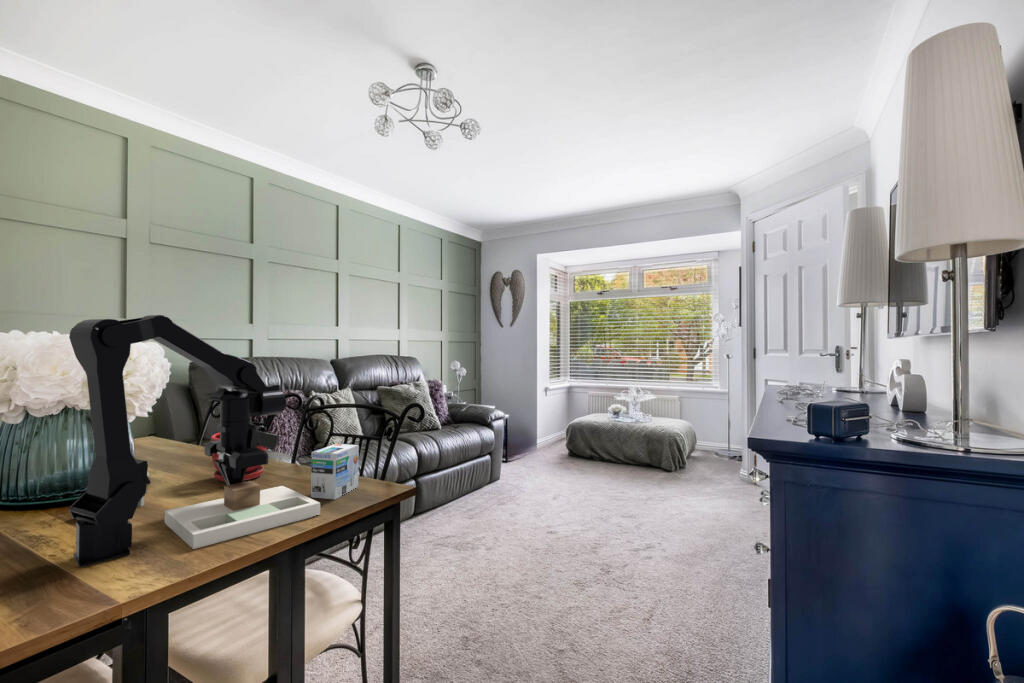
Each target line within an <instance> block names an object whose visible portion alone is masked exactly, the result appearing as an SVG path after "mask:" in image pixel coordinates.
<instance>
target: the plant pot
mask: <svg viewBox="0 0 1024 683" xmlns="http://www.w3.org/2000/svg"><path fill="white" fill-rule="evenodd" d="M218 440H220V432H217V433H215V434H213V435H211V437H210V441H218ZM257 448H258V449H261V450H264V451H265V452H266V453H267V449H268V448H267V447H262V446H257ZM211 460H212V463H213V465H214V467H215V469H216V471H214V473H213V476H214V478H215V479H216V480H217V481H221V482H224V483H226V482H225V480H224V478H223V476H222V474H221V472H220V470H219V468H218V466H217V465H216V463H215V462H214V461H215V460H219V453H213V455H212V456H211ZM264 470H265V468H264V466H263V465H259V466H253V467H248V468H247V470H246V472H245V475H244V478H243V481H242V482H246V481H251V480H252V479H256V478H258V477H260V476H261V475H262V474H263V473H264Z"/></svg>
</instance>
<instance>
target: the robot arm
mask: <svg viewBox="0 0 1024 683" xmlns="http://www.w3.org/2000/svg"><path fill="white" fill-rule="evenodd" d="M69 340H70V344H71V347H72V349H73V353H74V355H75V358H76V360H77V362H78V363H79V365H80V366H81V368H82V369H83V371H84V373H85V375H86V380H87V389H88V398H89V399H88V400H89V409H90V418H91V426H92V435H93V444H94V453H95V454H94V455H95V457H94V461H92V462H93V463H92V465H91V466H90V469H89V472H88V477H87V485H86V486H87V487H86V490H85V491H84V492H83V493H82V494H81V495H80V496H79V497H78V498H77V499H76V500H75V501H74V502H73V503H72V505H70V506H69V507H68V512H69V514H70V517H72V519H73V520H77V521H76V522H75V523H76V524H75V526H76V533H75V536H76V537H75V552H74V553H73V558H74V560H75V562H76V564H77V567H79V568H84V567H86V566H90V565H95V564H99V563H103V562H107V561H111V560H115V559H118V558H123V557H126V556H130V555H131V550H130V549H131V548H132V546H133V544H132V543H133V523H132V522H131V521H130V520H132V519H133V517H134V515H135V512H136V511H137V505H138V503H139V501H140V500H141V499H142V497H143V496H144V497H145V495H146V494H147V493H146V492H147V485H150V484H151V481H150V479H149V477H148V470H149V469H148V468H149V465H148V460H143V459H138V458H135V457H134V455H133V453H132V450H131V439H130V431H129V430H130V429H129V420H128V410H127V409H128V408H127V402H126V400H127V398H126V391H125V383H124V382H125V381H124V369H125V368H126V365H127V362H128V360H129V358H130V354H131V349H132V348H131V347H132V346H131V345H132V344H137V343H142V342H146V341H149V340H153V341H156V342H157V343H159V344H161V345H162V346H164V347H166V348H168V349H169V350H171V351H173V352H175V353H177V354H178V355H180V356H182V357H184V358H185V359H187V360H189V361H190V362H193V363H194V364H196V365H198V366H200V367H201V368H202V369H203V370H204V371H206V373H207V375H208V376H209V378H211V379H212V380H214V382H215V383H217V384H218V385H219V386H221V387H219V388H218V389H217V391H215V392H214V393H213V394H211V395H210V396H209V400H211V401H220V408H219V409H220V414H219V416H220V417H219V418H220V419H219V420H220V422H219V424H216V430H217V431H219V433H220V440H218V441H211V440H210V441H208V443H206V444H205V445H204V456H207V457H212V455H213V453H218V455H219V460H215V461H214V462H215V463H216V465H217V466H218V468H219V470H220V472H221V474H222V476H223V478H224V480H225V482H224V483H226V485H231V484H236V483H242V482H244V481H243V478H244V475H245V472H246V470H247V468H248V467H253V466H259V465H261V466H263V465H267V464H269V453H267V451H266V452H265V451H264V450H261V449H258V448H257V446H262V447H267V449H269V450H271V451H273V450H274V451H275V450H276V448H277V445H278V442H279V440H280V437H281V436H280V435H277V434H274V433H271V432H268V431H267V430H268V429H267V427H264V426H260V425H257V426H256V424H255V423H252V416H253V417H256V418H257V417H266V416H270V415H278V414H281V413H283V412H284V411H285V409H286V407H287V398H286V396H285V393H284V392H283V390H281V389H280V388H281V386H280V384H268V385H266V383H265V382H264V380H263V379H262V378H261V376H260V375H259V374H258V371H257V369H258V368H257V366H256V365H255V364H254V363H253V362H252V361H249V360H246V359H243V358H242V357H239V356H235V355H232V354H229V353H228V354H227V353H225V352H222V351H221V350H220V349H217V348H216V347H215V346H213V345H211V344H210V343H209V342H206V341H204V340H203V339H201V338H199V337H198V336H196V335H194V333H191V331H189V330H187V329H185V328H184V327H182V326H180V325H178V324H177V323H176V322H174V321H172V320H171V318H169V317H168V316H166V315H164V314H162V315H161V314H155V315H154V314H151V315H150V314H149V315H148V314H147V315H145V316H142V317H135V318H129V319H123V320H117V319H114V318H113V319H112V318H100V319H97V318H95V319H94V318H93V319H85V320H82V321H80V322H78V323H76V324H75V325H74V326H73V327H72V328H71V329H70V332H69ZM222 387H224V388H222ZM227 388H232V389H233V390H228V389H227ZM245 392H247V393H245Z"/></svg>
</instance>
